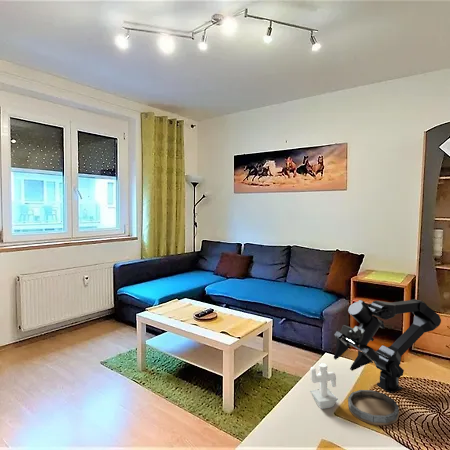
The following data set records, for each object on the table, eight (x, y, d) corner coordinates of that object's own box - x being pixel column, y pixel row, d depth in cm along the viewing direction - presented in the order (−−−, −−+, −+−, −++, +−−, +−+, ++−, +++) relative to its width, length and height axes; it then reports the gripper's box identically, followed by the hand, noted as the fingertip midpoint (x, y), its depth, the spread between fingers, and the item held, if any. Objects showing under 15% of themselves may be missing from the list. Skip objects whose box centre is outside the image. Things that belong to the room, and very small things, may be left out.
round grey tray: (372, 391, 125) (371, 386, 125) (408, 414, 111) (408, 409, 111) (339, 401, 119) (339, 396, 119) (373, 428, 105) (373, 422, 105)
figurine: (341, 408, 117) (340, 367, 116) (316, 412, 115) (315, 371, 114) (330, 396, 124) (329, 358, 123) (307, 401, 122) (306, 361, 121)
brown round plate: (372, 392, 125) (372, 390, 125) (409, 417, 111) (409, 414, 111) (338, 403, 119) (338, 401, 119) (373, 431, 105) (373, 428, 105)
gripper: (337, 310, 131) (314, 341, 128) (372, 326, 113) (346, 363, 110) (354, 326, 134) (331, 358, 131) (390, 344, 116) (365, 381, 113)
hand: (342, 364), depth 121 cm, fingers open, 9 cm apart
